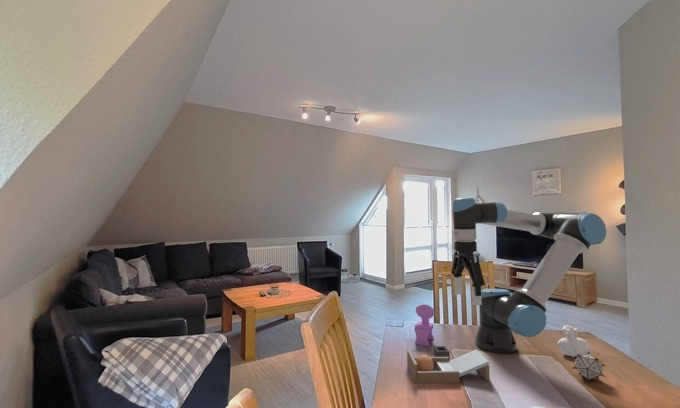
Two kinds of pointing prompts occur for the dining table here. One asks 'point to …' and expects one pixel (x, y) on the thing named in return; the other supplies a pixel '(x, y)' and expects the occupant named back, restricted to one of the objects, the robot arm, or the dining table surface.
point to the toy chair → (424, 325)
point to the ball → (424, 363)
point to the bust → (573, 343)
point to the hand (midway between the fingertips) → (467, 299)
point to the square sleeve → (441, 351)
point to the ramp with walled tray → (449, 368)
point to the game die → (588, 366)
